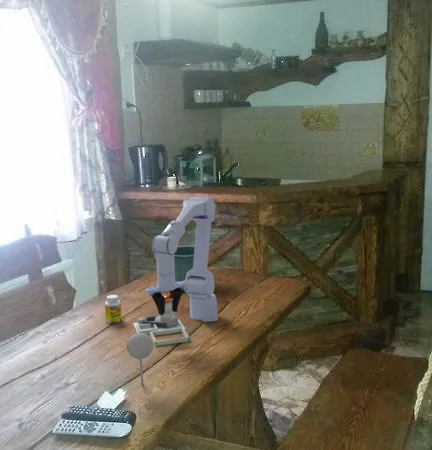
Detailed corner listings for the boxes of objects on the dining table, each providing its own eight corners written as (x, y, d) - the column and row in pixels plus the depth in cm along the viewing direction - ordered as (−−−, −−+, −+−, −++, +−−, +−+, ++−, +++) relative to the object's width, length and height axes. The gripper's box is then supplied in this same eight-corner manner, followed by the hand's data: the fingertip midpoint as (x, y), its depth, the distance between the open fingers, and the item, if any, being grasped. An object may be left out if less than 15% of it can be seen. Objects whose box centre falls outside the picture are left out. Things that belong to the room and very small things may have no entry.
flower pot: (206, 293, 246) (205, 255, 243) (166, 294, 247) (164, 256, 243) (207, 281, 262) (206, 245, 259) (169, 282, 263) (168, 246, 259)
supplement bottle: (110, 327, 212) (108, 300, 210) (103, 323, 216) (101, 296, 214) (124, 324, 215) (122, 296, 213) (118, 319, 219) (116, 292, 217)
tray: (182, 334, 204) (182, 327, 204) (189, 344, 195) (189, 337, 195) (150, 338, 201) (149, 331, 200) (155, 349, 192) (155, 342, 192)
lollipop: (130, 379, 172) (126, 329, 169) (155, 377, 173) (152, 328, 170) (128, 391, 165) (125, 339, 162) (154, 389, 166) (152, 337, 163)
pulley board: (177, 320, 217) (177, 309, 216) (185, 332, 206) (185, 321, 205) (133, 326, 212) (132, 315, 212) (139, 338, 201) (138, 327, 200)
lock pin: (168, 315, 200) (169, 293, 198) (176, 320, 197) (176, 297, 195) (156, 318, 198) (157, 295, 196) (164, 323, 194) (164, 300, 192)
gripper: (179, 265, 201) (180, 304, 203) (139, 273, 193) (142, 314, 196) (190, 270, 195) (191, 310, 198) (150, 278, 187) (152, 320, 190)
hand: (167, 312), depth 196 cm, fingers closed on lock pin, 4 cm apart
